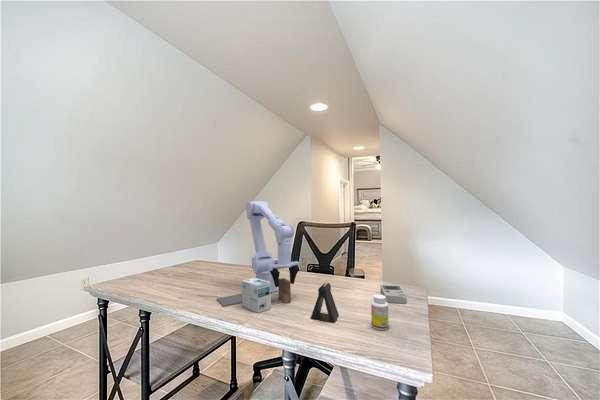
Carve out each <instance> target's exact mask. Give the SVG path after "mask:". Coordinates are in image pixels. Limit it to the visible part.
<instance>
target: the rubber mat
mask: <svg viewBox="0 0 600 400" xmlns="http://www.w3.org/2000/svg"><path fill="white" fill-rule="evenodd" d="M216 301H217V302H218V303H219V304H220V305H221V306H222V307H223V308H225V307H229V306H235V305H238V304H239V305H240V304H242V293H238V294H232V295H227V296H221V297H217V298H216Z"/></svg>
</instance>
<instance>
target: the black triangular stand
mask: <svg viewBox="0 0 600 400" xmlns="http://www.w3.org/2000/svg"><path fill="white" fill-rule="evenodd" d="M331 288H332V286H331V284H330V283H329V282H327V283H326V282H324V283H323V284H322V285H321V286H319V287H318V290H317V292H318V296H317V298H316V301H315V304H314V307H313V310H312V313H311V316H310V320H313V321H318V322H319V321H320V322H327V323H331V324H335V323H336V321H337V320H338V318H339V311H338V309H337V306H336V302H335V300H334V297H333V293H332V290H331ZM323 303H324V304H325V306H326V312H327V313H325V312H324V313H323V312H321V311H322V308H323Z"/></svg>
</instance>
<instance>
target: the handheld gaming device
mask: <svg viewBox="0 0 600 400" xmlns="http://www.w3.org/2000/svg"><path fill="white" fill-rule="evenodd" d="M379 286H380V293H381V295H383V296H385V297H386V302H387V303H388V304H389V303H390V304H392V303H393V304H406V303H407V296H406V293H405V291H404V289H403V288H402V287H401V285H396V284H395V285H394V284H393V285H389V284H387V285H386V284H380V285H379Z"/></svg>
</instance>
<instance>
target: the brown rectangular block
mask: <svg viewBox="0 0 600 400" xmlns="http://www.w3.org/2000/svg"><path fill="white" fill-rule="evenodd" d="M291 296H292V295H291V283H290V279H286V278H279V287H278V300H279V301H280V302H281V303H282V304H285V305H287V304H291V302H292V301H291V299H292V298H291Z"/></svg>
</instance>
